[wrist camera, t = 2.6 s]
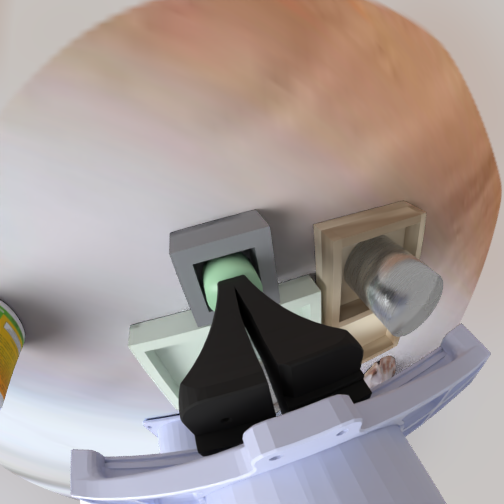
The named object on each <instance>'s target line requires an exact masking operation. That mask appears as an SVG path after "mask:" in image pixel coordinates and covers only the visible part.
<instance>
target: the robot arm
mask: <svg viewBox="0 0 504 504" xmlns="http://www.w3.org/2000/svg"><path fill="white" fill-rule="evenodd" d="M245 328H246V329H245ZM246 330H247V332H248V334H249V336H250V338H251V340H252V342H253V344H254V346H255V348H256V350H257V352H258V354H259V356H260V358H261V360H262V363H263V365H264V367H265V370H266V373H267V375H268V378H269V381H270V383H271V386H272V389H273V391H274V394H275V397H276V399H277V402H278V405H279V407H280V410H281V413H282V415H280V416H277V417H276V413H275V409H274V405H273V401H272V397H271V393H270V389H269V384H268V381H267V379H266V376H265V374H264V371H263V369H262V367H261V365H260V363H259V360H258V358H257V356H256V354H255V351H254V349H253V347H252V344H251V342H250V339H249V337H248V334H247V332H246ZM363 353H364V350H363V348H362V346H361V345H360V344H359V342H358V341H357V340H356V339H355V338H354V337H353V336H352V335H351V334H350V333H349V332H348V331H347V330H346V329H341V328H336V327H331V326H327V325H324V324H320V323H317V322H314V321H311V320H309V319H306V318H304V317H301V316H299V315H297V314H295V313H293V312H291V311H289V310H288V309H286V308H284V307H283V306H281V305H279V304H278V303H276V302H275V301H273V300H272V299H271V298H269V297H268V296H267V295H265V294H264V293H263V292H262V291H261V290H259V289H258V288H257V287H256V286H255V285H254V284H253V283H252V282H251V281H250V280H249V279H248V278H247V277H246V276H245V275H240V276H236V277H233V278H229V279H226V280H222V281H219V282H218V283H217V301H216V307H215V313H214V317H213V321H212V324H211V328H210V331H209V333H208V336H207V339H206V341H205V343H204V346H203V348H202V350H201V352H200V354H199V356H198V358H197V359H196V361H195V363H194V365H193V366H192V368H191V369H190V371H189V372H188V374H187V375H186V376H185V378H184V379H183V381H182V382H181V383H180V388H179V402H178V404H179V413H180V415H177V416H172V417H166V418H160V419H153V420H146V421H143V426H145V427H146V428H147V429H148V430H149V431H151V432H152V433H153V434H154V435H155V436H157V437H158V442H159V451H160V454H151V455H139V456H119V457H104V456H103V455H101V454H100V453H98V452H96V451H93V450H78V449H73V450H71V496H72V497H74V498H77V499H79V500H82V501H85V502H88V503H91V504H446V502H445V501H444V499H443V497H442V496H441V494H440V492H439V490H438V489H437V487H436V486H435V484H434V483H433V481H432V479H431V478H430V476H429V475H428V473H427V471H426V470H425V468H424V466H423V465H422V463H421V461H420V460H419V458H418V457H417V455H416V453H415V452H414V450H413V449H412V447H411V446H410V444H409V443H408V441H407V439H406V438H405V437H406V436H407V435H408V434H410V433H411V432H413V431H414V430H415V429H417V428H418V427H419V426H421V425H422V424H423V423H425V422H426V421H427V420H428V419H429V418H431V417H432V416H433V415H434V414H436V413H437V412H438V411H439V410H441V409H442V408H443V407H444V406H445V405H446V404H448V403H449V402H450V401H451V400H452V399H453V398H455V397H456V396H457V395H458V394H459V393H460V392H461V391H463V390H464V389H465V388H466V387H467V386H468V385H469V384H470V383H471V382H472V381H473V379H474V378H475V377H476V375H477V374H478V372H479V371H480V370H481V368H482V367H483V365H484V364H485V362H486V361H487V359H488V358H489V356H490V355H491V353H490V352H489V350H487V348H486V347H485V346H484V345H483V344H482V343H481V342H480V341H479V340H478V339H477V338H476V337H475V336H474V335H473V334H472V333H471V332H470V331H469V330H468V329H467V328H466V327H465V326H464V325H463V324H462V323H461V324H459V325H458V326H456V327H455V328H454V329H452V330H451V331H450V332H448V333H447V334H446V336H445V337H444V338H443V340H442V343H441V346H440V347H438V348H437V349H435V350H434V351H433V352H431V353H430V354H428V355H427V356H425V357H424V358H422V359H421V360H419V361H418V362H416V363H414V364H413V365H411V366H410V367H408V368H406V369H405V370H403V371H401V372H400V373H398V374H396V375H395V376H393V377H391V378H389V379H388V380H386V381H384V382H382V383H380V384H379V385H377V386H375V387H373V388H371V389H370V388H369V387H368V385H367V384H366V382H365V381H364V374H363V373H362V371H361V370H360V368H361V363H362V359H363Z"/></svg>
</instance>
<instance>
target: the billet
mask: <svg viewBox="0 0 504 504" xmlns="http://www.w3.org/2000/svg"><path fill="white" fill-rule="evenodd" d="M344 279H345V282H346V283H347V285H348V286H349V287H350V288H351V289H352V290H353V291H354V292H355V293H356V295H357V296H358V297H359V298H360V299H361V300H362V301H363V302H364V303H365V304H366V306H367V307H368V308H369V309H370V310H371V311H372V312H373V313H374V314H375V316H376V317H377V318H378V319H379V320H380V321H381V322H382V324H383V325H384V326H385V327H386V328H387V329H388V330H389V332H390V333H391V334H392V335H393V336H396V337H401V336H405V335H407V334H409V333H411V332H412V331H414V330H415V329H417V328H418V327H419V326H420V325H421V324H422V323H423V322H424V321H425V320H426V319H427V318H428V317H429V316H430V314H431V313H432V312H433V310H434V309H435V307H436V305H437V303H438V301H439V299H440V297H441V294H442V290H443V280H442V278H441V276H439V275H438V274H437V273H436V272H434V271H433V270H432V269H431V268H429V267H428V266H427V265H425V264H424V263H423V262H421V261H420V260H419V259H417V258H416V257H415V256H413V255H412V254H411V253H409V252H408V251H407V250H405V249H404V248H402V247H401V246H400V245H398V244H397V243H396V242H394V241H393V240H391V239H390V238H388V237H387V236H385V235H380V236H377V237H374V238H371V239H368V240H365V241H362V242H359V243H358V244H357V245H356V246H355V247H354V249H353V250H352V251H351V253H350V254H349V256H348V258H347V260H346V263H345V267H344Z"/></svg>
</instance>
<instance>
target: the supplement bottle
mask: <svg viewBox="0 0 504 504" xmlns="http://www.w3.org/2000/svg"><path fill="white" fill-rule="evenodd" d="M24 341H25V332H24V329H23V326H22V324H21V322H20V320H19V319H18V317H17V316H16V314H15V313H14V312H13V311H12V310H11V309H10V308H9V307H8V306H7V305H6V304H5V303H4V302H2V301H1V300H0V410H1V408H2V406H3V403H4V399H5V396H6V393H7V389H8V386H9V383H10V379H11V376H12V374H13V370H14V368H15V365H16V362H17V360H18V357H19V355H20V352H21V350H22V347H23V344H24Z"/></svg>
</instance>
